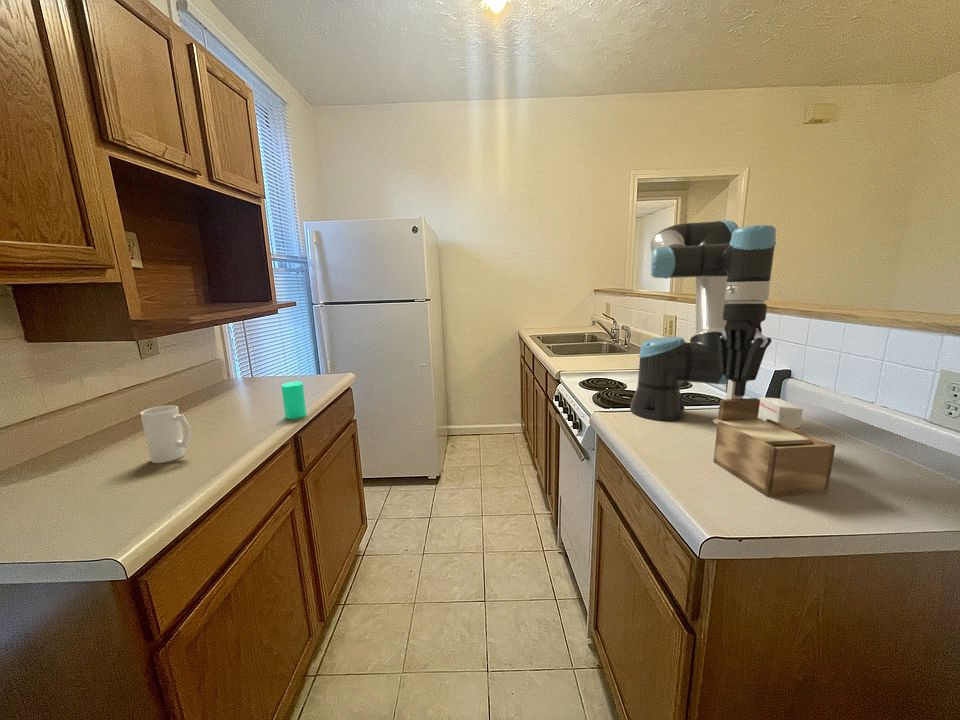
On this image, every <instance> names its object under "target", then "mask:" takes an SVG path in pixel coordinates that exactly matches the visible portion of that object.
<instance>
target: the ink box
mask: <svg viewBox="0 0 960 720" xmlns="http://www.w3.org/2000/svg"><path fill="white" fill-rule="evenodd" d="M758 399H760V405H759V413H758V418H760V419H762V420H765V421H766V419H770V420H773V421H775V422H778V423H780V424H783V425H785V426H788V427H790V428H793V429H795V430H798V431H800V432H801V430H800V429H801V423H802V415H803V408H801V407H799V406H797V405H795V404H793V403H790V402H788V401H786V400H783V399H782V398H776V397H775V398H774V397H763V396H761V397H759V398H758Z"/></svg>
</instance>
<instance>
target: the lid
mask: <svg viewBox="0 0 960 720" xmlns="http://www.w3.org/2000/svg"><path fill="white" fill-rule="evenodd" d="M759 405H760V399H759V398H757V397H754V398H753V397H752V398H743V399H726V398H725V399H719V407H718V416H717V418H713V419H712V422H713V423H714V424H716V425H717V424H718V422H723V423H725V424H727V425H729V426H731V427H733V428H736V429H738V430H740V431H742V432H744V433H746V434H748V435H750V436H752V437H754V438H756V439H759V440H761V441H763V442H765V443H767V444H769V445H788V444H806V443H810V441H811V439H809V438H806V437H804V436H801V435H799V434H796V433H794V432H792V431H789V430H787V429H784V428H782V427H779V426H777V425H774V424H772V423H769V422H767V421H765V420H762V419H760V418H758V413H759Z"/></svg>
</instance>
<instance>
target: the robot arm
mask: <svg viewBox="0 0 960 720" xmlns="http://www.w3.org/2000/svg"><path fill="white" fill-rule="evenodd" d="M776 231H777V230H776V227H775V226H773V225H768V224H767V225H766V224H762V225H761V224H756V225H749V226H743V227H742V226H741V227H739V226H738V224H737V223H736V222H735V221H732V220H716V221H703V222H688V223H687V222H686V223H678V224H673V225H671V226H668V227H666V228H663V229H662V230H660V231H659V232H657V234H655V236H653V238H652V240H651V242H650V252H651V262H650V263H651V265H650V275H651V277H653V278H656V279H664V280H665V279H673V278H674V279H675V278H695V334H694V335H692V336H691V337H690V339H689V342H685V338H684V337H682V336H681V337H680V336H665V337H664V336H663V337H657V338H650V339H647V340H644V341H643V342H642V343H641V345H640V351H639V355H638V358H639V364H638V378H637V388H636V389H635V393H634V394H633V396H632V399H631V402H630V408H629V410H630V412H631V413H632V414H634V415H636V416H638V417H641V418H645V419H650V420H656V421H677V420H681V419H684V417H685V406H684V401H683V398H682V394H681V389H680V388H681V383H682V382H684V383H685V382H686V383H697V384H698V383H699V384H713V385H725V386H726V387H725V392H726V394H725V395H726V397H725V399H744V396H745V394H746V389H747V388H746V387H747V382H748V381H749V382H750V381H755V380H756V378H757V376H758V373H759V370H760V367H761V365H762V362H763V359H764V356H765V354H766V353H765V352H766V351H767V348H768V347H769V346H770V344H771V343H772V338H771V337H765V336H764V335H763V334H762V332H763V329H762V324H761V323H762V322H764V321H766V319H767V318H766V317H767V310H768V305H767V304H766V303H765V302H766V301H769V296H770V295H769V294H770V285H771V277H772V271H773V262H774V261H773V260H774V253H775V246H776V245H777V241H776V234H777V232H776Z"/></svg>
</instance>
